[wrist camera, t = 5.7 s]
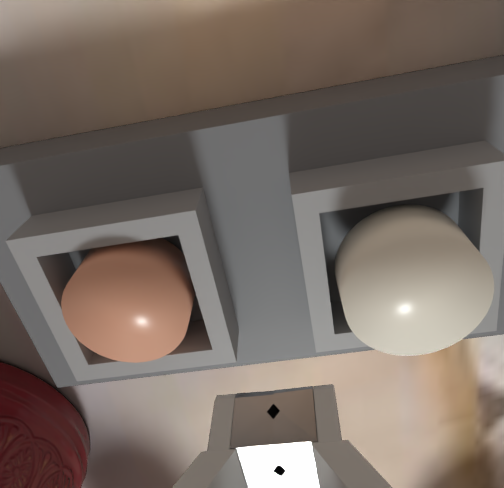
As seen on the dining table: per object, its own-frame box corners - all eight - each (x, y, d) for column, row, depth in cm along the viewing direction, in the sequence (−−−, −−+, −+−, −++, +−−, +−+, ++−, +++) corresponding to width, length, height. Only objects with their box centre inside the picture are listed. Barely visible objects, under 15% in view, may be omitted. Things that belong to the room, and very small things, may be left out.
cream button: (469, 194, 15) (499, 224, 13) (464, 306, 17) (489, 346, 15) (327, 215, 15) (337, 248, 13) (340, 322, 18) (349, 363, 16)
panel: (828, -6, 16) (1041, -3, 12) (729, 260, 21) (850, 331, 17) (-14, 151, 20) (-95, 197, 15) (79, 345, 25) (39, 421, 20)
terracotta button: (179, 222, 17) (169, 252, 15) (208, 318, 19) (201, 355, 17) (65, 240, 18) (40, 271, 16) (105, 332, 20) (88, 368, 18)
